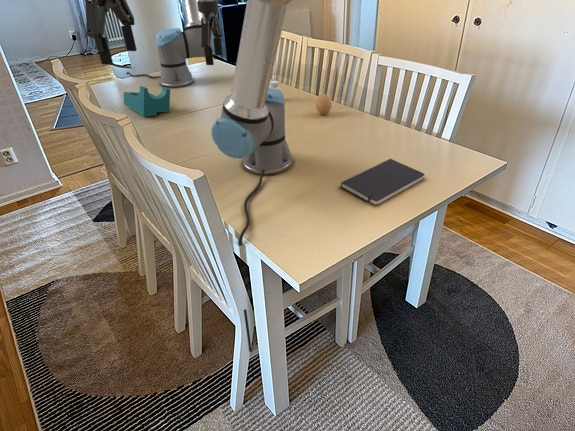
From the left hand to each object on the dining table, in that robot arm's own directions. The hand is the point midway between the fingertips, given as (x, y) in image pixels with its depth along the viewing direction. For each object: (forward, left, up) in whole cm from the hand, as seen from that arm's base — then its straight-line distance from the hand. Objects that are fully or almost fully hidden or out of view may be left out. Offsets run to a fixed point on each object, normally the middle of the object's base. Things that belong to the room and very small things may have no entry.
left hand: (214, 59), depth 160 cm
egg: (+45, +7, -18) cm, 49 cm away
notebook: (+82, -32, -18) cm, 89 cm away
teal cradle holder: (-22, -19, -18) cm, 34 cm away
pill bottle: (+19, +13, -18) cm, 29 cm away
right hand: (+11, -53, +15) cm, 56 cm away
